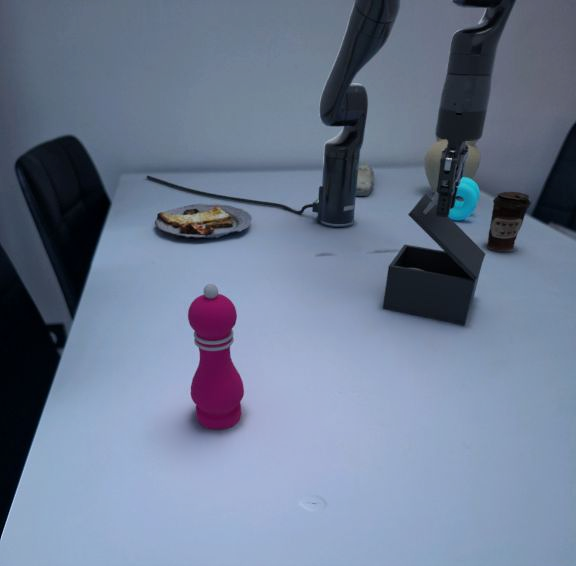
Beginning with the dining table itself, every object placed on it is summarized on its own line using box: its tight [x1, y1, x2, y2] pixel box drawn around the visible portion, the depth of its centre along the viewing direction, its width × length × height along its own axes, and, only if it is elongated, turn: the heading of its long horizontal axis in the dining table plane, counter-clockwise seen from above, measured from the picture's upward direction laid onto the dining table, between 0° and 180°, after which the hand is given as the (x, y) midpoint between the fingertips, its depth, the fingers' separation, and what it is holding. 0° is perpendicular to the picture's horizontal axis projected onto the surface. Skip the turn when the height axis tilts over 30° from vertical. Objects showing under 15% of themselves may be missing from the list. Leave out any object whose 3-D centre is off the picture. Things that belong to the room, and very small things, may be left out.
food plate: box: [154, 203, 253, 239], centre depth 139 cm, size 25×23×4 cm
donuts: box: [448, 177, 481, 221], centre depth 150 cm, size 10×10×10 cm
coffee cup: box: [486, 191, 532, 253], centre depth 128 cm, size 9×8×13 cm
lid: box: [408, 192, 486, 280], centre depth 96 cm, size 16×13×5 cm
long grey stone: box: [356, 161, 375, 197], centre depth 179 cm, size 35×5×10 cm
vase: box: [424, 129, 482, 194], centre depth 162 cm, size 17×17×30 cm
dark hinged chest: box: [382, 244, 482, 326], centre depth 103 cm, size 16×13×9 cm
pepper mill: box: [187, 283, 245, 430], centre depth 69 cm, size 7×7×20 cm
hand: (444, 211), depth 95 cm, fingers closed on lid, 5 cm apart
